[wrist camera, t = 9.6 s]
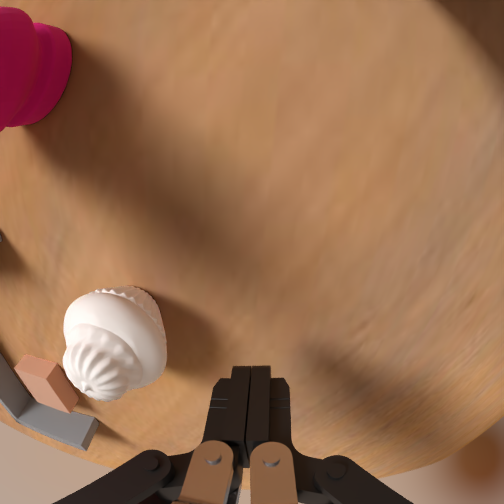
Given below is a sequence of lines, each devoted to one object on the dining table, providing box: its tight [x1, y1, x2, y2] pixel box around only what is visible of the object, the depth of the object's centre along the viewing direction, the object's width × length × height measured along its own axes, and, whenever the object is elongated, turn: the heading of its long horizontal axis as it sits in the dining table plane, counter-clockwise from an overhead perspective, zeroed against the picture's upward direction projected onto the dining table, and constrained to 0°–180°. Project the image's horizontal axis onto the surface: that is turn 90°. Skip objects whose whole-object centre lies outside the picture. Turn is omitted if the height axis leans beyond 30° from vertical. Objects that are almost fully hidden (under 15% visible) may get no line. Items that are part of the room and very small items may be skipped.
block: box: [14, 354, 79, 414], centre depth 21 cm, size 5×5×2 cm
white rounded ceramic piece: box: [63, 285, 167, 402], centre depth 14 cm, size 6×6×7 cm
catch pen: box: [0, 235, 99, 451], centre depth 19 cm, size 12×22×4 cm, turn 6°
